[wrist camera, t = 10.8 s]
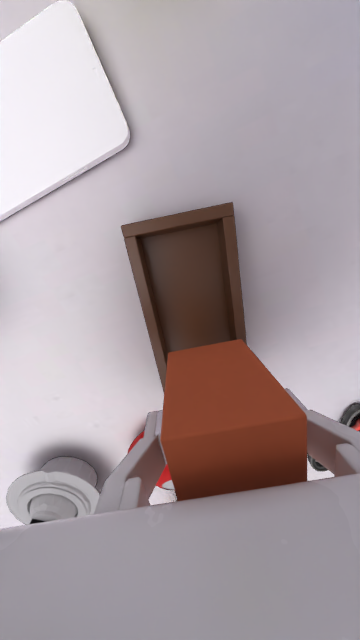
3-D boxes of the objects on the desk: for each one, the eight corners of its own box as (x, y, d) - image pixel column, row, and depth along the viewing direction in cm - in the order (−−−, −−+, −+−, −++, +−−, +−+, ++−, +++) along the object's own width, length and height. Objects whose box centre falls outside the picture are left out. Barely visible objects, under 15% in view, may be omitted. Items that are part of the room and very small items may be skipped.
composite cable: (315, 468, 23) (329, 490, 20) (289, 440, 22) (301, 459, 20) (392, 422, 21) (418, 440, 18) (366, 391, 21) (389, 405, 18)
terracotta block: (167, 352, 12) (159, 440, 6) (241, 338, 11) (308, 415, 6) (185, 428, 13) (193, 556, 7) (250, 417, 13) (308, 539, 7)
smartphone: (-126, 130, 12) (68, -10, 11) (-109, 137, 13) (75, 6, 11) (-42, 241, 14) (133, 137, 13) (-31, 242, 15) (135, 144, 13)
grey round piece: (59, 680, 10) (-154, 660, 9) (32, 738, 13) (-135, 729, 12) (121, 457, 22) (32, 435, 21) (100, 511, 25) (20, 495, 24)
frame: (129, 231, 15) (120, 225, 13) (223, 211, 15) (233, 201, 12) (168, 389, 19) (167, 407, 17) (242, 376, 19) (251, 392, 17)
